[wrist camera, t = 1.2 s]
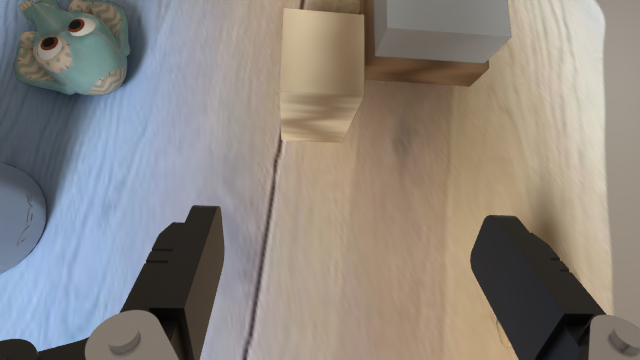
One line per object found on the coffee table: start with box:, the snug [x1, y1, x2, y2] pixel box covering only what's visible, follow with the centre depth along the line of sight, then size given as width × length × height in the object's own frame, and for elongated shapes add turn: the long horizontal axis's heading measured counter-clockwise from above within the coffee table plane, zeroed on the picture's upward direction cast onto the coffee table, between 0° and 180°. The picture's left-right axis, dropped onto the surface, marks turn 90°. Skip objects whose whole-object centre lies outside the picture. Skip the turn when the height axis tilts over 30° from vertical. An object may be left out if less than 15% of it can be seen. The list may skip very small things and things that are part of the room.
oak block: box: [280, 8, 364, 143], centre depth 29 cm, size 6×6×10 cm
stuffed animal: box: [14, 0, 130, 95], centre depth 30 cm, size 11×7×12 cm
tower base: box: [360, 0, 489, 86], centre depth 35 cm, size 11×11×4 cm
